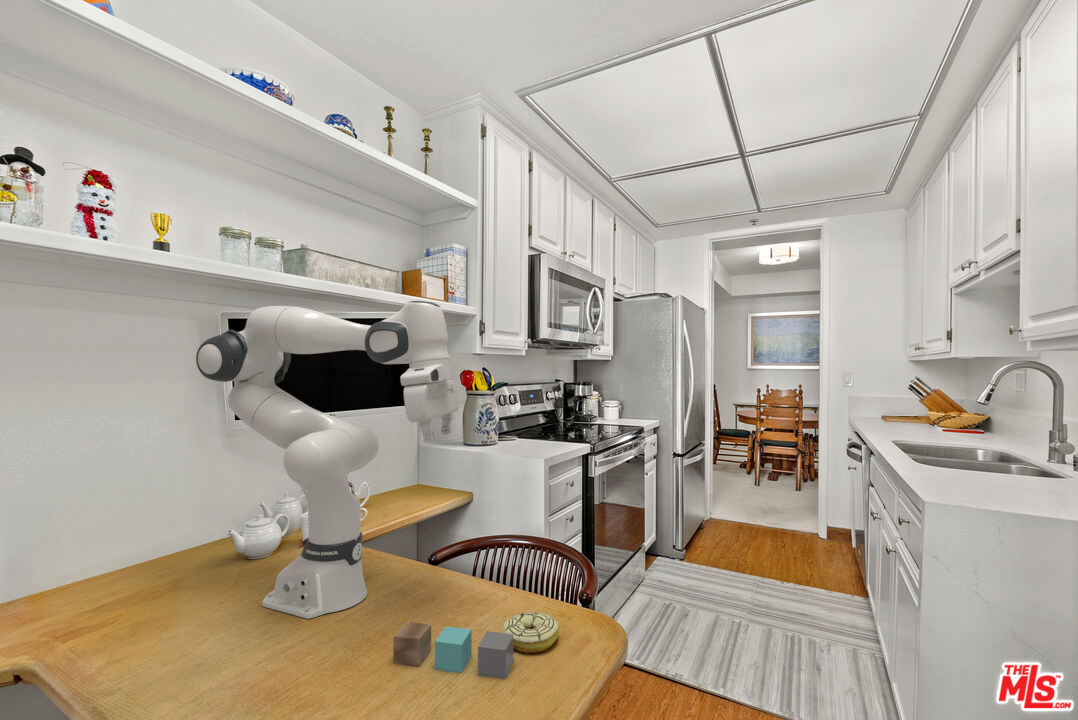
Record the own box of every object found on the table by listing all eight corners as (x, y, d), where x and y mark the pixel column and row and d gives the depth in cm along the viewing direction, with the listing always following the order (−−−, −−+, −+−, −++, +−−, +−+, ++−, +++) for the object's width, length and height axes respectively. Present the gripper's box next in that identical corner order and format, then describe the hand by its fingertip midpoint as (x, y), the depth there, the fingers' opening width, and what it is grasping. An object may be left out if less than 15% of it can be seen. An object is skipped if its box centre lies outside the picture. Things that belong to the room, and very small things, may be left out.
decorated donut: (518, 621, 101) (518, 603, 101) (566, 633, 97) (566, 614, 97) (493, 647, 92) (493, 627, 92) (544, 662, 87) (544, 641, 87)
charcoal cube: (478, 675, 83) (477, 646, 83) (487, 658, 88) (487, 631, 88) (505, 679, 82) (505, 650, 82) (513, 662, 87) (513, 634, 87)
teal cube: (434, 669, 85) (434, 641, 85) (446, 653, 90) (446, 626, 90) (461, 673, 84) (461, 644, 84) (471, 656, 89) (471, 629, 89)
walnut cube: (393, 664, 87) (393, 636, 87) (406, 648, 92) (406, 621, 92) (419, 667, 86) (419, 639, 86) (431, 651, 90) (431, 624, 91)
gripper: (436, 374, 116) (443, 431, 115) (395, 377, 96) (403, 447, 95) (461, 371, 114) (468, 429, 114) (425, 374, 94) (433, 444, 94)
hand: (438, 437), depth 105 cm, fingers open, 8 cm apart
